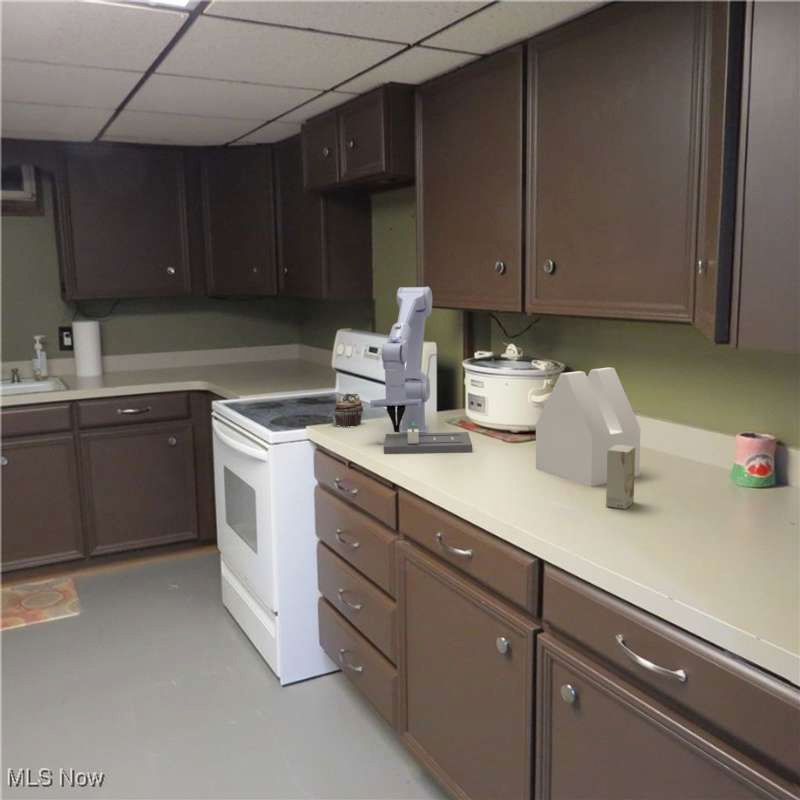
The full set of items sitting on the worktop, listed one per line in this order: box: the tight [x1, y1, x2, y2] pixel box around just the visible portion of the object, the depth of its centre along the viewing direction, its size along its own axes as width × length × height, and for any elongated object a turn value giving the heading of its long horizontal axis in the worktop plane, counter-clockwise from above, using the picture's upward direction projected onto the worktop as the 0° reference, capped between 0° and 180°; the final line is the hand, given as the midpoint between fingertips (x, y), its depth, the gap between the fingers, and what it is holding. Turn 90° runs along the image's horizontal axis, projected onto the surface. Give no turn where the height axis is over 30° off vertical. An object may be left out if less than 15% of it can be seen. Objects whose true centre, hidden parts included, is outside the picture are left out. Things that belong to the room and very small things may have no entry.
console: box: [383, 431, 473, 455], centre depth 218 cm, size 16×24×2 cm, turn 89°
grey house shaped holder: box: [535, 366, 641, 488], centre depth 185 cm, size 19×15×25 cm
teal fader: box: [408, 422, 418, 429], centre depth 222 cm, size 4×3×3 cm
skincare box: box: [605, 445, 635, 510], centre depth 162 cm, size 6×4×12 cm
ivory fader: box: [408, 429, 419, 444], centre depth 213 cm, size 4×3×3 cm
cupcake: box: [332, 393, 364, 428], centre depth 249 cm, size 10×10×10 cm
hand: (396, 431), depth 222 cm, fingers closed
